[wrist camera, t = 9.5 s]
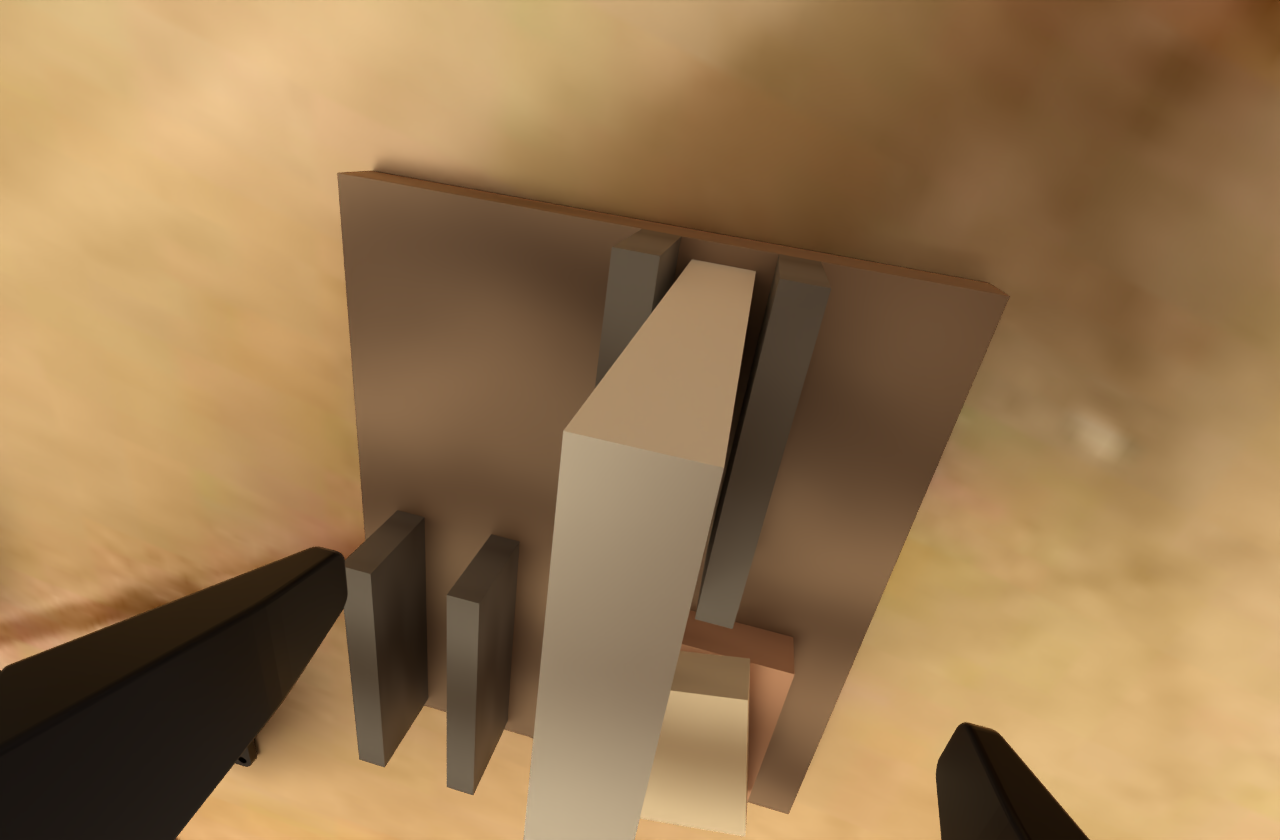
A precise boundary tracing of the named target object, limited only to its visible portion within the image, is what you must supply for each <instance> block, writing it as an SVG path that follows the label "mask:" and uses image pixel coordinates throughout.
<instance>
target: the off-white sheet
mask: <svg viewBox="0 0 1280 840" xmlns="http://www.w3.org/2000/svg"><path fill="white" fill-rule="evenodd" d="M755 274H756V271H752V270H747V269H742V268H736V267H731V266H726V265H720V264H715V263H710V262H704V261H699V260H693V259H692V260H691V261H690V263H689V264H688V265H687V267H686V268H685V269H684V271H683V272H682V273H681V275H680V276H679V277H678V279H677V280H676V281H675V283H674V284H673V285H672V287H671V288H670V289H669V291H668V292H667V293H666V295H665V296H664V297H663V299H662V300H661V301H660V303H659V304H658V305H657V307H656V308H655V309H654V311H653V312H652V313H651V315H650V316H649V317H648V319H647V320H646V321H645V323H644V324H643V325H642V327H641V328H640V329H639V331H638V332H637V333H636V335H635V336H634V337H633V339H632V340H631V341H630V343H629V344H628V345H627V347H626V348H625V349H624V351H623V352H622V353H621V355H620V356H619V357H618V359H617V360H616V361H615V363H614V364H613V365H612V367H611V368H610V369H609V371H608V372H607V373H606V375H605V376H604V377H603V379H602V380H601V381H600V383H599V384H598V385H597V387H596V388H595V389H594V391H593V392H592V393H591V395H590V396H589V397H588V399H587V400H586V401H585V403H584V404H583V405H582V407H581V408H580V409H579V411H578V412H577V413H576V415H575V416H574V417H573V419H572V420H571V421H570V423H569V424H568V425H567V427H566V428H565V429H564V431H563V439H562V450H561V460H560V470H559V480H558V491H557V501H556V511H555V521H554V532H553V542H552V552H551V563H550V573H549V583H548V593H547V604H546V614H545V624H544V634H543V645H542V655H541V665H540V675H539V686H538V696H537V706H536V717H535V727H534V737H533V747H532V758H531V768H530V778H529V788H528V799H527V809H526V819H525V830H524V840H635V836H636V831H637V827H638V823H639V819H640V815H641V811H642V807H643V802H644V798H645V794H646V790H647V786H648V782H649V777H650V773H651V769H652V765H653V761H654V757H655V753H656V748H657V744H658V740H659V736H660V732H661V728H662V724H663V719H664V715H665V711H666V707H667V703H668V699H669V694H670V690H671V686H672V682H673V678H674V674H675V670H676V665H677V661H678V657H679V653H680V649H681V645H682V640H683V636H684V632H685V628H686V624H687V620H688V616H689V611H690V607H691V603H692V599H693V595H694V591H695V586H696V582H697V578H698V574H699V570H700V566H701V562H702V557H703V553H704V549H705V545H706V541H707V537H708V532H709V528H710V524H711V520H712V516H713V512H714V508H715V503H716V499H717V495H718V491H719V487H720V483H721V478H722V474H723V470H724V465H725V459H726V453H727V447H728V441H729V434H730V428H731V422H732V416H733V410H734V404H735V397H736V391H737V385H738V379H739V373H740V367H741V361H742V354H743V348H744V342H745V336H746V330H747V324H748V317H749V311H750V305H751V299H752V293H753V287H754V281H755Z"/></svg>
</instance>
